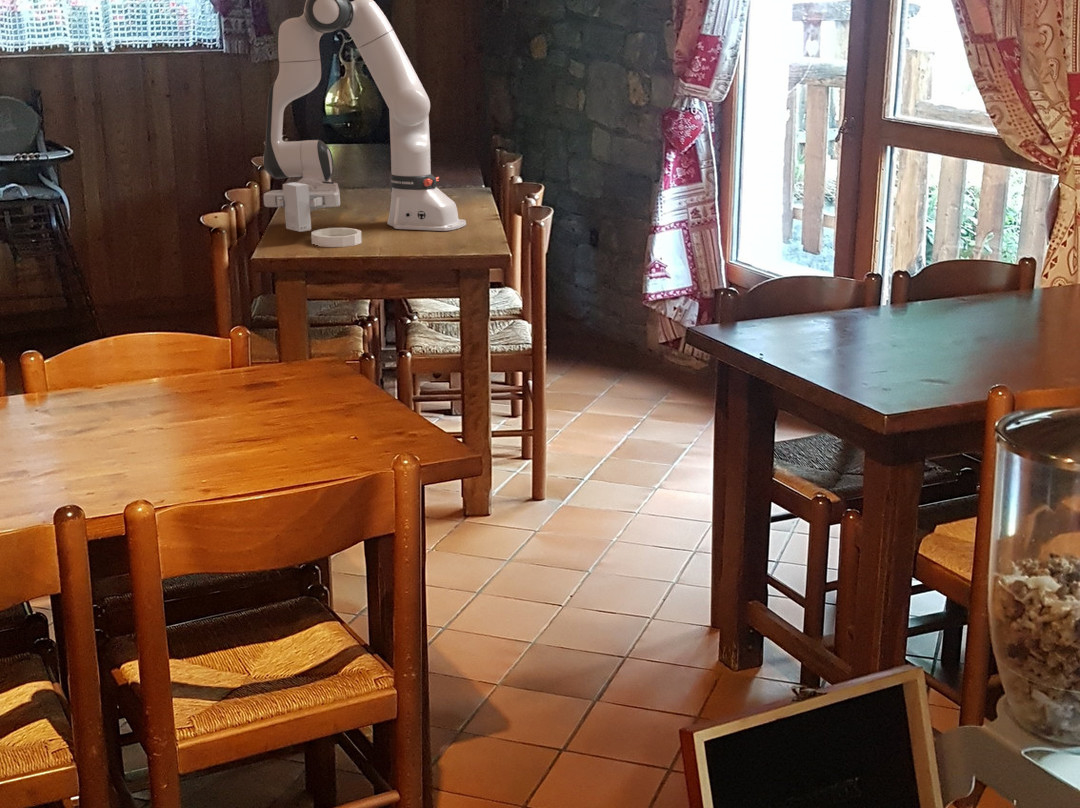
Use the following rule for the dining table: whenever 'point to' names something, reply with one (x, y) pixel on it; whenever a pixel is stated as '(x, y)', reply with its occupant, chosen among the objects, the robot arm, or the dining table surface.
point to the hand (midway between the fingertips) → (296, 203)
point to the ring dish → (336, 237)
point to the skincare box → (297, 206)
